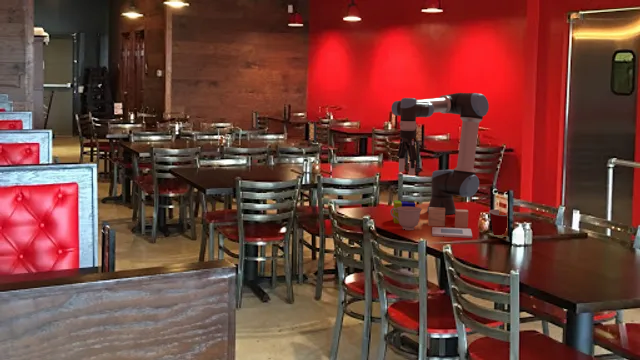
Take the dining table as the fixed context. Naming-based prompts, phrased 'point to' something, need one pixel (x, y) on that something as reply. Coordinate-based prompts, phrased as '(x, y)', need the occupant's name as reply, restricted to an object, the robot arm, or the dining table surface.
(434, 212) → the oak cube
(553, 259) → the dining table surface
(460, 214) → the terracotta block
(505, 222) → the plastic cup
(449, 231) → the base
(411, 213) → the teacup
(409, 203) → the puzzle toy
